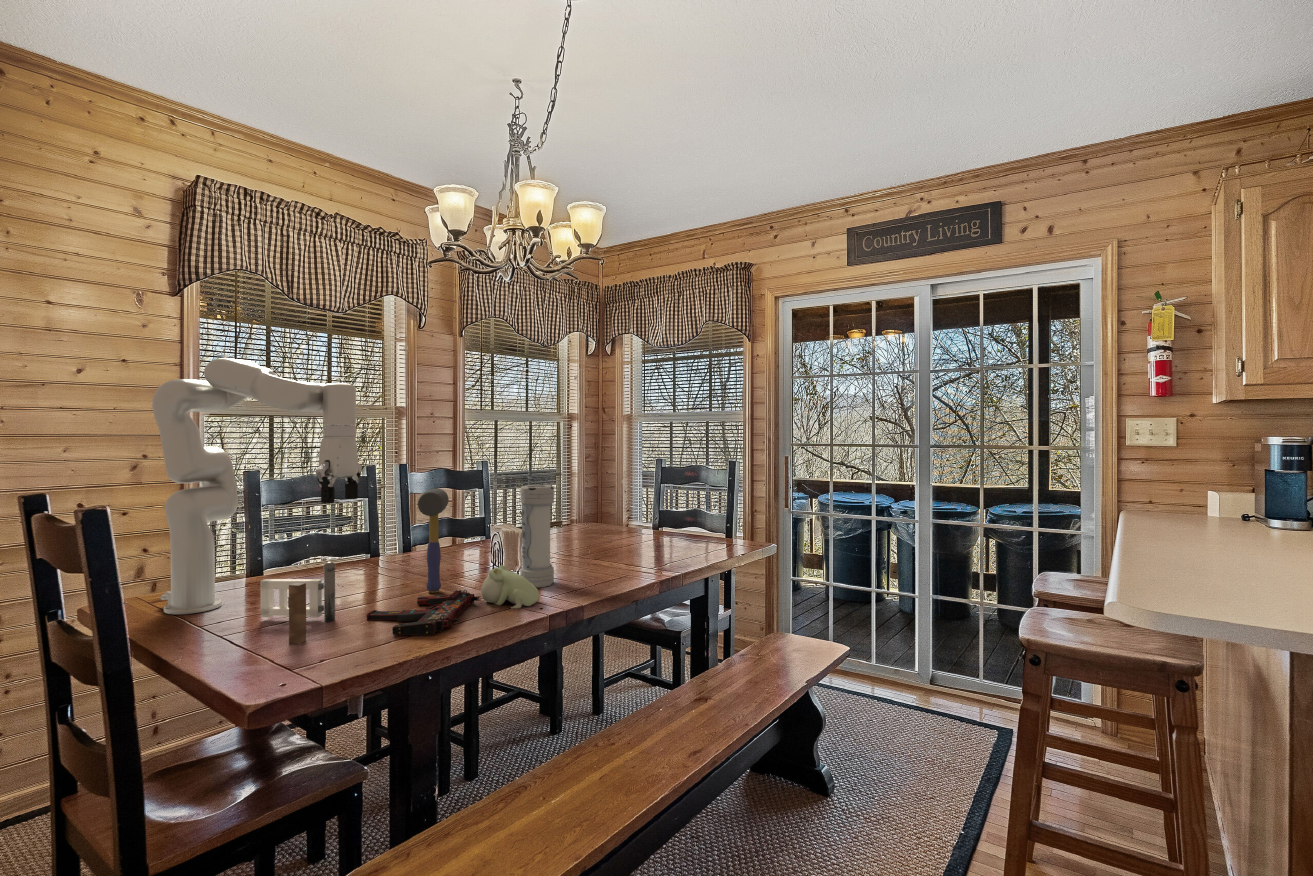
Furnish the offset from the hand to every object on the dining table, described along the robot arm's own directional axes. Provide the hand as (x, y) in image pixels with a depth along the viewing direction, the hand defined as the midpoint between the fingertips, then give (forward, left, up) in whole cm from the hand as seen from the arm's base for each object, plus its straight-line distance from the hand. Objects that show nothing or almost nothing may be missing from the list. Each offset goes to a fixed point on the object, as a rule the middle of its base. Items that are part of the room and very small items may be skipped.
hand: (340, 500), depth 167 cm
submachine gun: (+19, +6, -30) cm, 36 cm away
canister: (+36, +43, -30) cm, 63 cm away
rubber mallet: (+10, +28, -30) cm, 42 cm away
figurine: (+36, +21, -30) cm, 51 cm away
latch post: (+3, -19, -29) cm, 35 cm away
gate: (-10, -5, -28) cm, 30 cm away
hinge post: (-1, -3, -29) cm, 30 cm away
